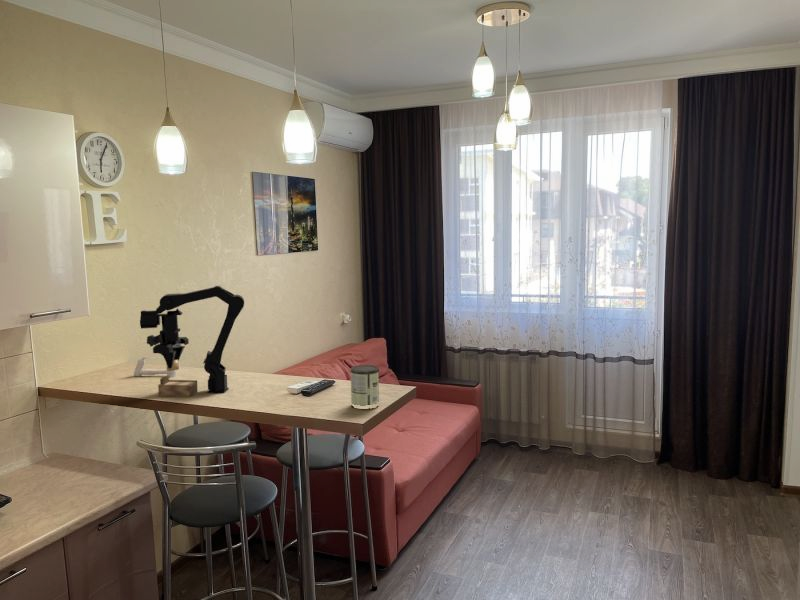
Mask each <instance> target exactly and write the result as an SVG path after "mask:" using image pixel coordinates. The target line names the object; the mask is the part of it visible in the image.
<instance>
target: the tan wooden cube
mask: <svg viewBox="0 0 800 600" xmlns="http://www.w3.org/2000/svg"><path fill="white" fill-rule="evenodd" d="M165 364H166V370H167V371H174V370H176V371H177V370H180V365H179V361H178V360H177V359H174V361H173V365H172V368H168V366H167V363H165Z"/></svg>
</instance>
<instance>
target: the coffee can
mask: <svg viewBox="0 0 800 600" xmlns="http://www.w3.org/2000/svg"><path fill="white" fill-rule="evenodd" d="M379 371H380V367H378V366H377V365H371V364H370V365H369V364H363V365H362V364H360V365H354V366H352V367H350V392H351V393H350V395H351V397H350V398H351V400H350V402H351V403H352V404H354V405H360V406H366V405H373V404H377V403H378V402H379V403H380V401H379V400H380V399H379V398H380V395H379V394H380V393H379V392H380V391H379V390H380V384H379V383H380V380H379V378H380V375H379V374H380V373H379ZM351 403H350V404H351Z"/></svg>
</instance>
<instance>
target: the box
mask: <svg viewBox="0 0 800 600" xmlns="http://www.w3.org/2000/svg"><path fill="white" fill-rule="evenodd" d="M169 382H196V384H195V385H193V386H191V387H190V385H162V384H158V385H157V387H158V397H176V396H177V397H178V396H181V397H182V396H183V397H184V398H185V397H187V398H188V397H189V398H190V397H191V396H193V395H195V394H196V393H197V392H198V380H196V379H194V380H193V379H192V380H191V379H190V380H189V379H169ZM183 397H182V398H183ZM178 398H179V397H178Z"/></svg>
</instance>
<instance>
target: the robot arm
mask: <svg viewBox="0 0 800 600" xmlns="http://www.w3.org/2000/svg"><path fill="white" fill-rule="evenodd" d="M211 298H217V299H220V300H221V302H224V303H225V304H227V305H228V306H227V311H226V316H225V319H224V322H223V324H222V327H221V329H220V332H219V334H218V337H217V339H216V342H215V344H214V347H213V348H212V350H211V351H210V350H207V352H206V356H205V358H204V359H203V364H204V366H203V368H204V371H205V372H206V373H207V374H209V376H208V379H207V393H210V394H211V393H216V394H217V393H219V394H222V393H223V394H224V393H225V392H228V391H229V389H230V387H228V374H226V370H227V368H226V367H225V365H224V364H222V358H223V357H222V356H223V351H224V350H225V347H226V344H227V342H228V339H229V337H230V334H231V331H232V329H233V326H234V323H235V321H236V319H237V318H238V317H239V315H240V313H241V312H242V310H243V309H244V307H245V299H244V297H243V296H242V295H240V294H234V293H233V292H230V291H228V290H226V289H225V288H223V287H222V286H220V285H215V286H212V287H209V288H208V287H207V288H204V289H199V290H194V291H189V292H186V293H185V292H184V293H177V292H176V293H167V294H165V295H163V296H162V297H160V299H159V304H158V306H157V308H156V309H155V310H141V311H140V317H139V318H140V320H139V326H140V329H157V328H158V326H161V330H160V331H159V334H158V335H153V334H151V335H148V336H146V344H147V345H149V347H150V348H151V347H152V354H159V355H161V356H162V357H163V358H164V360H165V362H166V363H167V366H168V368H172V365H173V361H174V359H177V360H178V362H179V361H180V358H181V356H182V354H183V351H184V349H185V348H186V345H189V338H188V337H187V336H179V335H180V334H179V332H181V328H179V322H178V319H179V318H178V316H182V315H183V312H182V311H181V310H180V308H178V307H181V306H182V305H183V306H184V305H185V304H189V303H193V302H198V301H202V300H207V299H211ZM174 309H176V310H174ZM165 311H166V313H163V312H165ZM166 363H165V364H166ZM167 366H166V367H167Z"/></svg>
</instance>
